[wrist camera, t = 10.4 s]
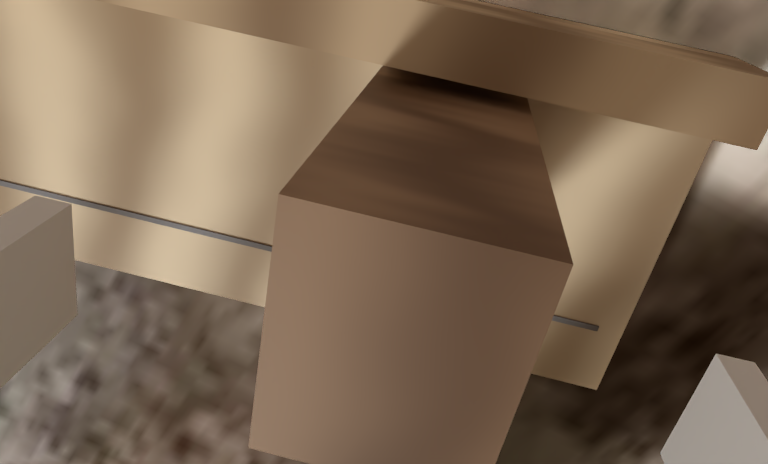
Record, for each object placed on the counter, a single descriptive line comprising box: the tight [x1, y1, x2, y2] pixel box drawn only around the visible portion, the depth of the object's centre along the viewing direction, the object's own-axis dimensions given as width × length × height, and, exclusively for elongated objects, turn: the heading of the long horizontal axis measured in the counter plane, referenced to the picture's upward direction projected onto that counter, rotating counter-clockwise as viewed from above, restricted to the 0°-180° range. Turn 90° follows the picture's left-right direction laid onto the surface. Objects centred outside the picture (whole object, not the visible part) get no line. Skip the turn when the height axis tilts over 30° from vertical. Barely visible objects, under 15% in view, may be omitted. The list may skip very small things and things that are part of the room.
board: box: [0, 0, 768, 390], centre depth 22 cm, size 30×14×4 cm, turn 80°
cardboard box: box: [248, 65, 573, 464], centre depth 18 cm, size 5×14×12 cm, turn 170°
